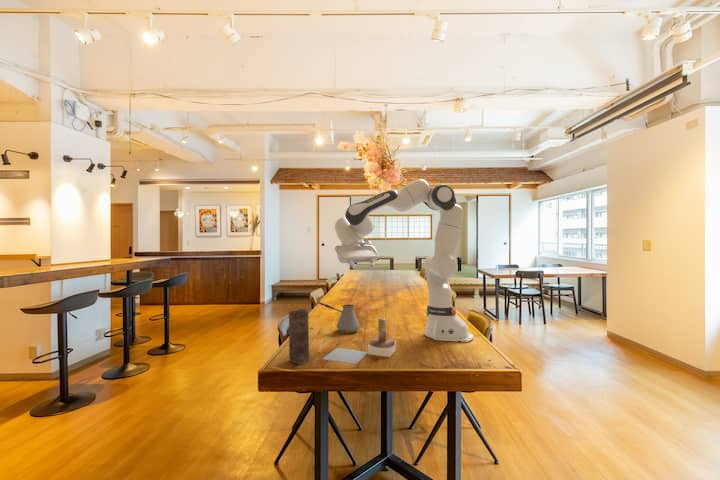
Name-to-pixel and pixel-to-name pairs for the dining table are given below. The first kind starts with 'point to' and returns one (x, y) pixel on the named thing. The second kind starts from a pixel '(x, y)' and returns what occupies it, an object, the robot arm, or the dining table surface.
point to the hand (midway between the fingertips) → (364, 268)
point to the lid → (382, 336)
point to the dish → (381, 350)
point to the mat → (345, 355)
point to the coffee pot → (346, 319)
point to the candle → (298, 336)
